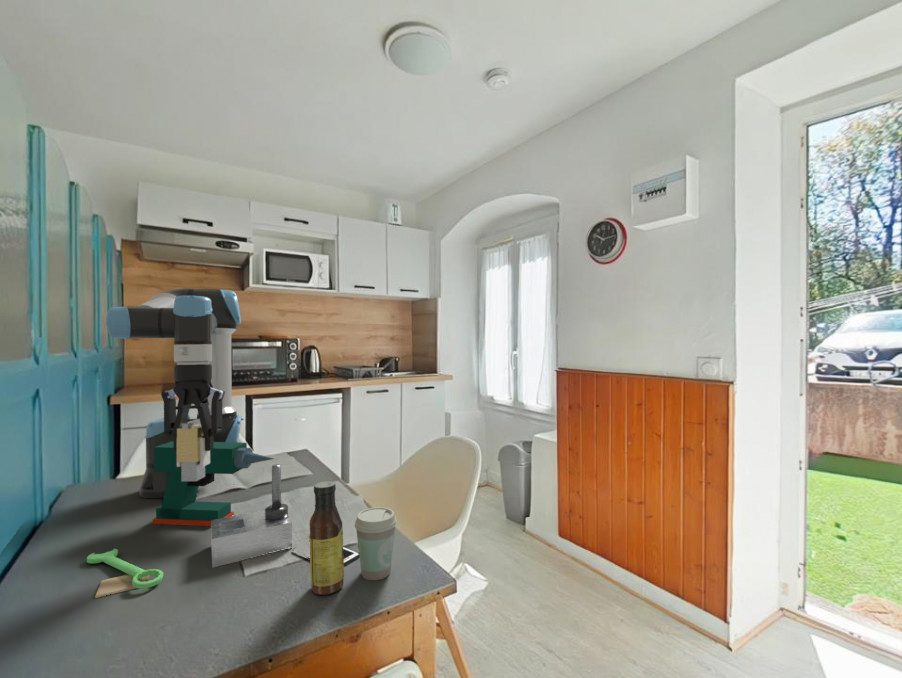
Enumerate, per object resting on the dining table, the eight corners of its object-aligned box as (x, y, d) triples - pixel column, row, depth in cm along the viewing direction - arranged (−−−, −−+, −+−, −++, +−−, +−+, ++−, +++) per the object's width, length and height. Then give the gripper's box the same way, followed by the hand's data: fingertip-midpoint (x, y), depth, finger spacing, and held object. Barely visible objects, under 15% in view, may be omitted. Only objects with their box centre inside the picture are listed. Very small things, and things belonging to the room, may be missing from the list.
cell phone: (318, 540, 103) (318, 536, 103) (361, 557, 94) (361, 553, 94) (290, 553, 97) (290, 549, 97) (333, 573, 88) (333, 569, 88)
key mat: (101, 582, 85) (101, 580, 85) (150, 571, 89) (150, 569, 89) (95, 598, 80) (95, 596, 80) (147, 585, 84) (147, 583, 84)
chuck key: (191, 474, 101) (191, 419, 101) (210, 474, 101) (210, 418, 101) (175, 483, 95) (174, 423, 95) (195, 483, 95) (195, 423, 95)
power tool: (282, 516, 116) (281, 442, 116) (268, 528, 109) (268, 449, 109) (172, 512, 119) (172, 440, 119) (152, 523, 112) (152, 447, 112)
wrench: (111, 554, 97) (82, 564, 93) (111, 545, 97) (82, 554, 93) (169, 579, 85) (138, 592, 80) (169, 569, 85) (138, 582, 80)
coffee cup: (377, 589, 82) (377, 526, 82) (345, 576, 86) (345, 517, 86) (405, 569, 89) (405, 511, 89) (374, 558, 94) (374, 503, 94)
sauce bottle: (350, 586, 83) (349, 484, 83) (321, 601, 78) (320, 492, 78) (332, 574, 87) (331, 476, 87) (303, 587, 83) (302, 484, 83)
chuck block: (211, 546, 100) (210, 468, 100) (284, 530, 108) (283, 458, 108) (212, 567, 90) (211, 482, 90) (292, 548, 98) (291, 470, 98)
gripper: (143, 364, 95) (143, 470, 95) (222, 363, 95) (223, 469, 95) (166, 362, 102) (166, 460, 102) (239, 362, 102) (240, 460, 102)
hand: (193, 464), depth 98 cm, fingers closed on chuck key, 5 cm apart
